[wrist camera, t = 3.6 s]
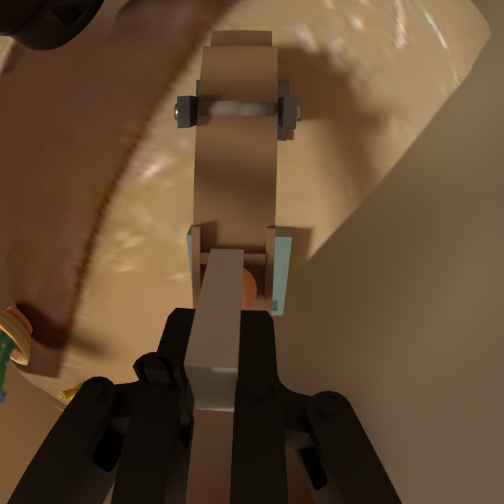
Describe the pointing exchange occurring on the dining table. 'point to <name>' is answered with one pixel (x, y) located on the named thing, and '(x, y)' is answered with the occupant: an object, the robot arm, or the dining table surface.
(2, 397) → the potted cactus
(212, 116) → the lever
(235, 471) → the robot arm
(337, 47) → the dining table surface
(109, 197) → the dining table surface
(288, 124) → the stand
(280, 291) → the dish
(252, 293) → the ball
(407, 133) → the dining table surface
